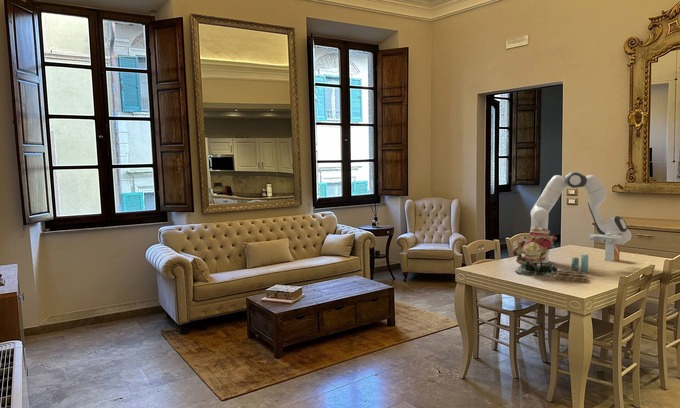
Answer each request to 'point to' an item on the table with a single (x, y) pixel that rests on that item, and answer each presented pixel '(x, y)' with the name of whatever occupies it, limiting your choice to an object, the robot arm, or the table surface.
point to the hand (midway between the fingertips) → (598, 239)
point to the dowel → (584, 263)
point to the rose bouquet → (534, 252)
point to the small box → (612, 252)
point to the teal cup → (574, 267)
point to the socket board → (572, 277)
